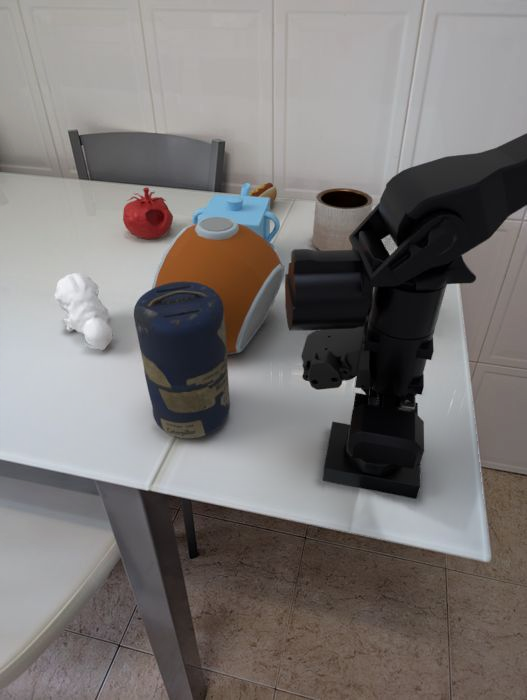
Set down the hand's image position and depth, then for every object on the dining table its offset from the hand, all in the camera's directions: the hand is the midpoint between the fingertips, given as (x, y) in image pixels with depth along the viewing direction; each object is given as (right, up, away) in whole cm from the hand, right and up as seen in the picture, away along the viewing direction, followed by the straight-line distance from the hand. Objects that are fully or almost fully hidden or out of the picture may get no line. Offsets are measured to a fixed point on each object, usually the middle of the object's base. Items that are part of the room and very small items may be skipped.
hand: (376, 439), depth 53 cm
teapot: (-17, +27, +41) cm, 52 cm away
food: (-14, +41, +59) cm, 73 cm away
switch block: (0, -3, +3) cm, 4 cm away
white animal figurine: (-38, +12, +22) cm, 45 cm away
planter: (+3, +31, +46) cm, 55 cm away
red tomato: (-36, +34, +50) cm, 70 cm away
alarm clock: (-19, +13, +23) cm, 32 cm away
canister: (-21, +1, +9) cm, 23 cm away
